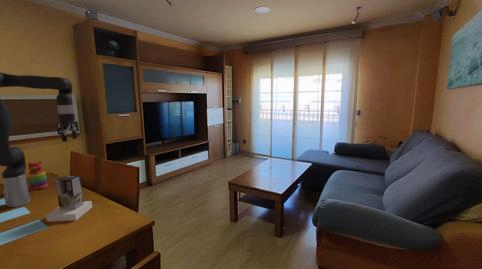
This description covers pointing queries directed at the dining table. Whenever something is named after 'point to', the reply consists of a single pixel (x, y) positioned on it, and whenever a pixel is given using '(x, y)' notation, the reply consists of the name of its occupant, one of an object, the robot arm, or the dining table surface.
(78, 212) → the plinth
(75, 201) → the coffee box
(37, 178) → the stacking bear
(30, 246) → the dining table surface
